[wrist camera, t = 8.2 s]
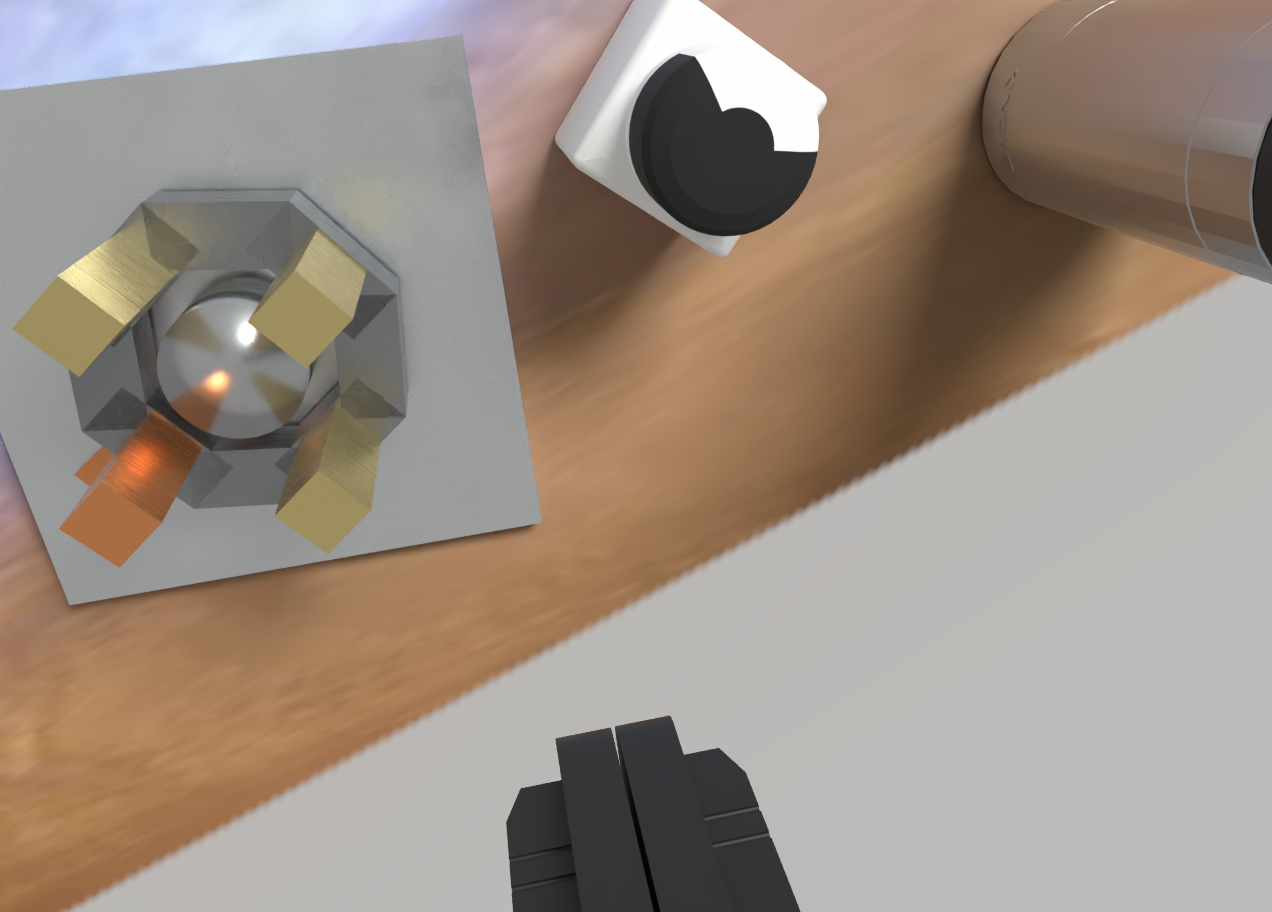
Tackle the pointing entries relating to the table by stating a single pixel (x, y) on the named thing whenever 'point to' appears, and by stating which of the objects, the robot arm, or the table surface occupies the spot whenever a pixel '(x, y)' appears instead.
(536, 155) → the table surface
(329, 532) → the octagonal frame
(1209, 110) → the robot arm
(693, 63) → the medicine bottle
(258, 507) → the base plate
